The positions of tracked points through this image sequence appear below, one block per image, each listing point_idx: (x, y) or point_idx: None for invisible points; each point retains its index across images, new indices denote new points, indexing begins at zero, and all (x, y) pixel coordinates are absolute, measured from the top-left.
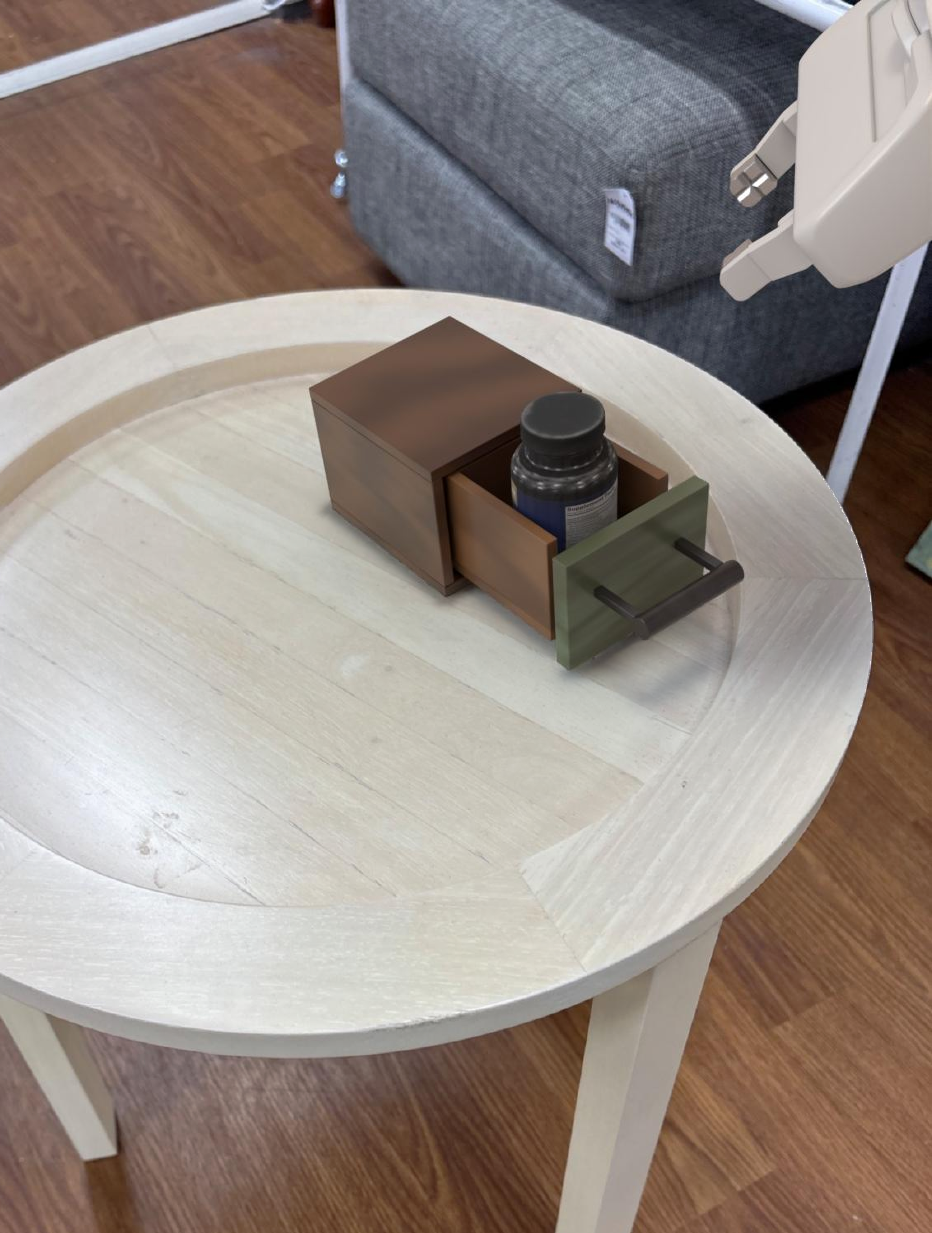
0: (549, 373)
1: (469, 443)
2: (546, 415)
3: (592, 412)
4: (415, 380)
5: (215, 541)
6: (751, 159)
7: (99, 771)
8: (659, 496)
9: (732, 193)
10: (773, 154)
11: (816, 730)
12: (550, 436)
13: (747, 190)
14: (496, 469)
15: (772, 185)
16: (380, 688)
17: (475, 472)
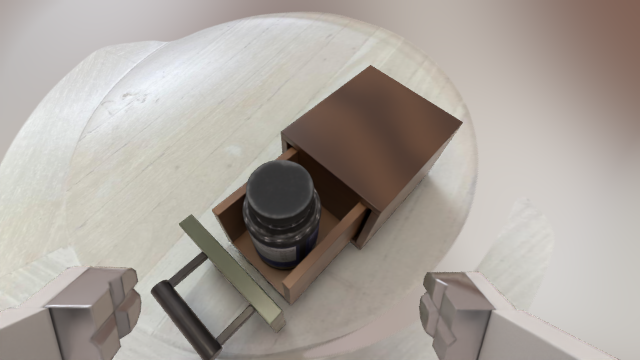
0: (399, 188)
1: (311, 148)
2: (279, 176)
3: (280, 209)
4: (383, 112)
5: (327, 83)
6: (475, 302)
7: (176, 72)
8: (254, 283)
9: (424, 280)
10: (511, 353)
11: None
12: (249, 181)
13: (432, 307)
14: (319, 176)
15: (444, 357)
16: (215, 164)
17: (308, 163)
